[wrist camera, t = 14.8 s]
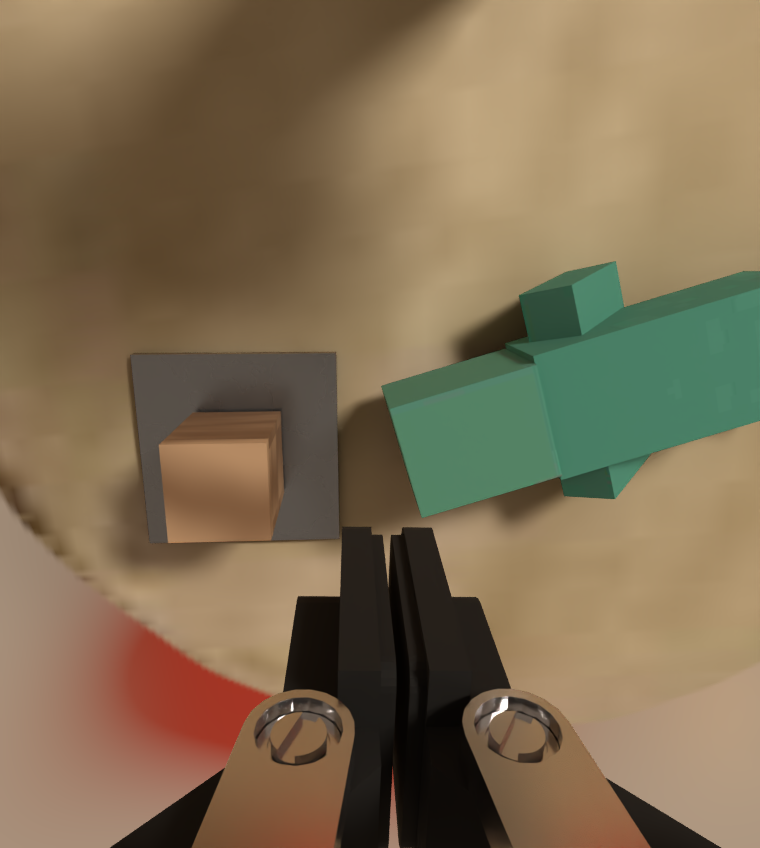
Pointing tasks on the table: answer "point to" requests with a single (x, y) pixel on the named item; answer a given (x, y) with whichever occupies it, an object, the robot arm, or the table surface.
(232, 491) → the tan cardboard carton
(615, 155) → the table surface
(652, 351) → the toy
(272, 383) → the grey base plate
